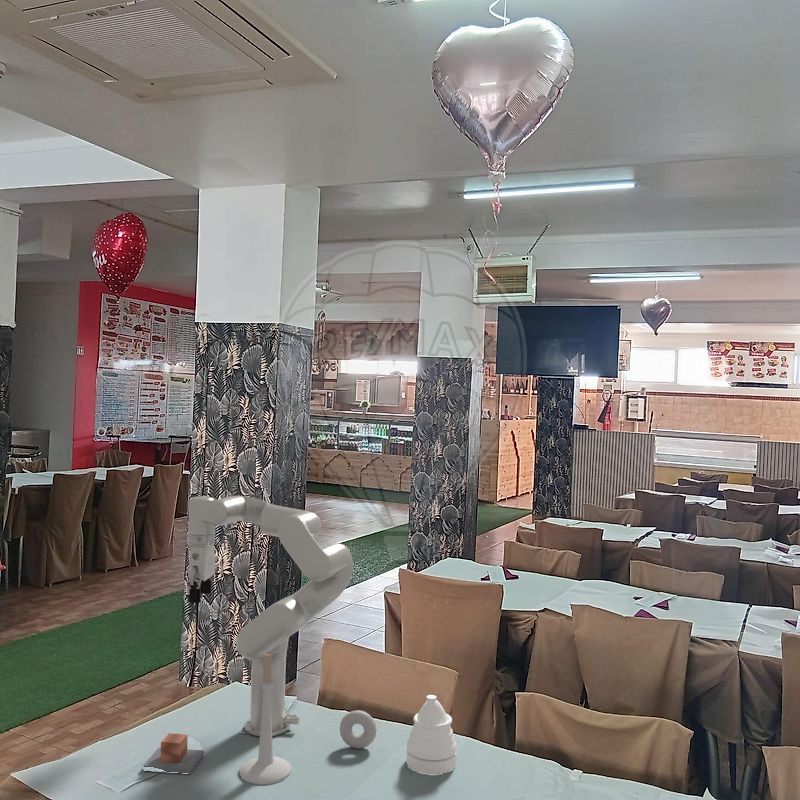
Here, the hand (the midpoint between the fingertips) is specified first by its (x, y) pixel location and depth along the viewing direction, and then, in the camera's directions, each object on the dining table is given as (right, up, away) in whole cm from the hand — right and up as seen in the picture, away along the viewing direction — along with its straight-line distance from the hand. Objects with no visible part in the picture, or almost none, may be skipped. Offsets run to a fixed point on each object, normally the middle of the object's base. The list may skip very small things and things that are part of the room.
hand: (200, 597), depth 230 cm
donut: (+47, -36, -18) cm, 62 cm away
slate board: (+1, -35, -29) cm, 45 cm away
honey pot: (+66, -36, -26) cm, 80 cm away
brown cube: (+1, -33, -29) cm, 44 cm away
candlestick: (+24, -36, -32) cm, 54 cm away
